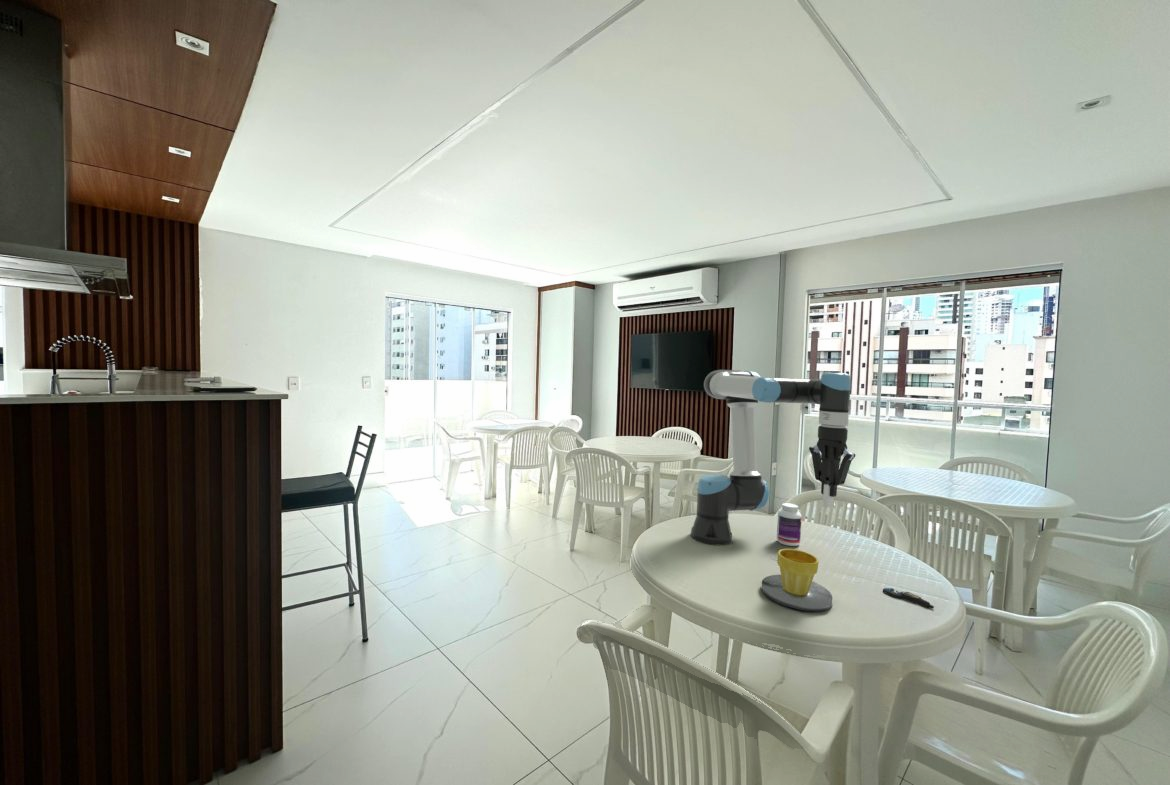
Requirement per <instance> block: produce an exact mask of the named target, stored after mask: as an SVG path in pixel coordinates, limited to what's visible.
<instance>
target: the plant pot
mask: <svg viewBox="0 0 1170 785" xmlns="http://www.w3.org/2000/svg"><path fill="white" fill-rule="evenodd" d="M776 561H777V562H776V563H777V565H778V567H779V572H780V575H781V580H782V587H783V589H784V590H786V591H787V592H789V593H792V594H795V595H807V594H808V592H809V589H810V586H811V583H812V581H813V579H814V577H815V575H816V574H817V573H818V570H819V559H818V558H817V557H816V556H815V555H813V554H812V553H810V552H807V551H804V550H800V549H794V548H783V549H779V550H778V551H777V560H776Z"/></svg>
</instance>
